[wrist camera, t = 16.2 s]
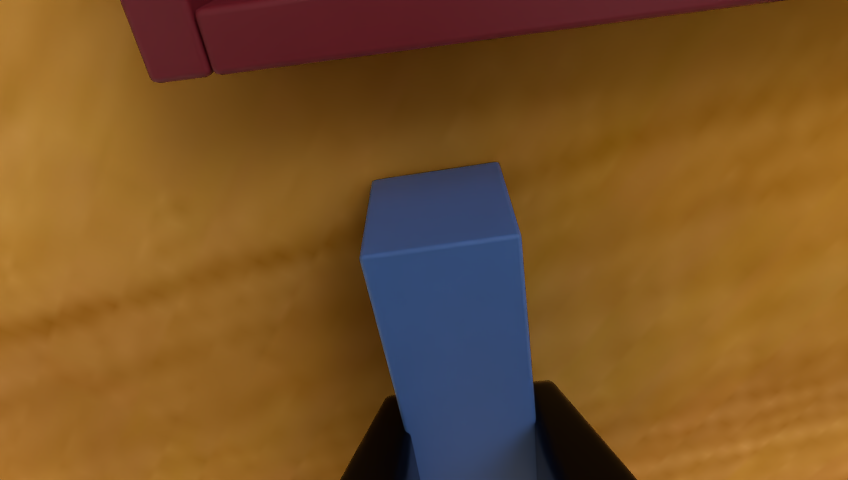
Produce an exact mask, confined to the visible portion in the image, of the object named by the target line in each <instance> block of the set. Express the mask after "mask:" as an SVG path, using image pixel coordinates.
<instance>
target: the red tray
mask: <svg viewBox="0 0 848 480" xmlns="http://www.w3.org/2000/svg"><path fill="white" fill-rule="evenodd" d="M120 1H121V4H122V6H123V9H124V12H125V14H126V17H127V19H128V22H129V25H130V27H131V30H132V32H133V35H134V37H135V40H136V43H137V45H138V48H139V50H140V53H141V56H142V58H143V61H144V63H145V66H146V69H147V71H148V74H149V76H150V78H151V80H152V81H153V82H158V83H165V82H172V81H180V80H187V79H195V78H202V77H207V76H209V75H210V74H212V73H213V72H215V73H216V74H221V75H225V74H232V73H240V72H247V71H255V70H263V69H270V68H278V67H285V66H293V65H300V64H308V63H315V62H323V61H330V60H338V59H346V58H353V57H361V56H368V55H376V54H383V53H391V52H398V51H406V50H413V49H421V48H428V47H436V46H444V45H451V44H459V43H466V42H474V41H481V40H489V39H496V38H504V37H511V36H519V35H526V34H534V33H542V32H549V31H557V30H564V29H572V28H579V27H587V26H594V25H602V24H609V23H617V22H625V21H632V20H640V19H647V18H655V17H662V16H670V15H677V14H685V13H692V12H700V11H707V10H715V9H723V8H730V7H738V6H745V5H753V4H760V3H768V2H775V1H783V0H120Z"/></svg>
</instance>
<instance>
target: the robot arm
mask: <svg viewBox="0 0 848 480" xmlns="http://www.w3.org/2000/svg"><path fill="white" fill-rule="evenodd" d="M533 388H534V401H535V413H536V421H535V445H536V473H537V480H637V479H636V478H635V477H634V475H633V474H632V473H631V472H630V471H629V470H628V468H627V467H626V466H625V465H624V464H623V463H622V462H621V460H620V459H619V458H618V457H617V456H616V455H615V453H614V452H613V451H612V450H611V449H610V448H609V446H608V445H607V444H606V443H605V442H604V441H603V440H602V438H601V437H600V436H599V435H598V434H597V433H596V431H595V430H594V429H593V428H592V427H591V426H590V424H589V423H588V422H587V421H586V420H585V419H584V418H583V416H582V415H581V414H580V413H579V412H578V411H577V409H576V408H575V407H574V406H573V405H572V404H571V402H570V401H569V400H568V399H567V398H566V397H565V395H564V394H563V393H562V392H561V391H560V390H559V389H558V387H557V386H556V385H555V384H554V383H553V382H551V381H549V380H546V381H535V382H533ZM340 480H420V476H419V471H418V467H417V462H416V457H415V452H414V448H413V443H412V438H411V435H410V434H409V433H408V432H406V431H405V429H404V425H403V421H402V417H401V414H400V410H399V406H398V402H397V399H396V395H391V396H388V397H387V398H386V399H385V401H384V402H383V404H382V406H381V408H380V409H379V411H378V413H377V415H376V416H375V418H374V420H373V422H372V424H371V425H370V427H369V429H368V431H367V433H366V434H365V436H364V438H363V440H362V441H361V443H360V445H359V447H358V449H357V450H356V452H355V454H354V456H353V458H352V459H351V461H350V463H349V465H348V467H347V468H346V470H345V472H344V474H343V475H342V477H341V479H340Z"/></svg>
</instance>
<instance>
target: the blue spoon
mask: <svg viewBox="0 0 848 480" xmlns="http://www.w3.org/2000/svg"><path fill="white" fill-rule="evenodd" d="M359 260H360V263H361V267H362V271H363V275H364V278H365V282H366V286H367V290H368V293H369V297H370V301H371V305H372V308H373V312H374V316H375V320H376V323H377V327H378V331H379V335H380V338H381V342H382V346H383V350H384V353H385V357H386V361H387V365H388V368H389V372H390V376H391V380H392V383H393V387H394V391H395V395H396V399H397V402H398V406H399V410H400V414H401V417H402V421H403V425H404V429H405V431H406V432H408V433H409V434H410V435H411V438H412V443H413V448H414V452H415V457H416V462H417V467H418V471H419V476H420V480H537V473H536V445H535V421H536V413H535V401H534V388H533V376H532V363H531V351H530V338H529V326H528V313H527V301H526V288H525V275H524V263H523V250H522V238H521V233H520V230H519V227H518V224H517V220H516V217H515V214H514V210H513V207H512V204H511V200H510V197H509V194H508V191H507V187H506V184H505V181H504V177H503V174H502V171H501V167H500V165H499V163H498V162H492V163H485V164H479V165H472V166H465V167H459V168H452V169H445V170H439V171H432V172H425V173H419V174H412V175H405V176H399V177H392V178H385V179H379V180H374V181H372V185H371V191H370V197H369V204H368V210H367V216H366V222H365V228H364V234H363V240H362V246H361V252H360V258H359Z"/></svg>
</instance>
